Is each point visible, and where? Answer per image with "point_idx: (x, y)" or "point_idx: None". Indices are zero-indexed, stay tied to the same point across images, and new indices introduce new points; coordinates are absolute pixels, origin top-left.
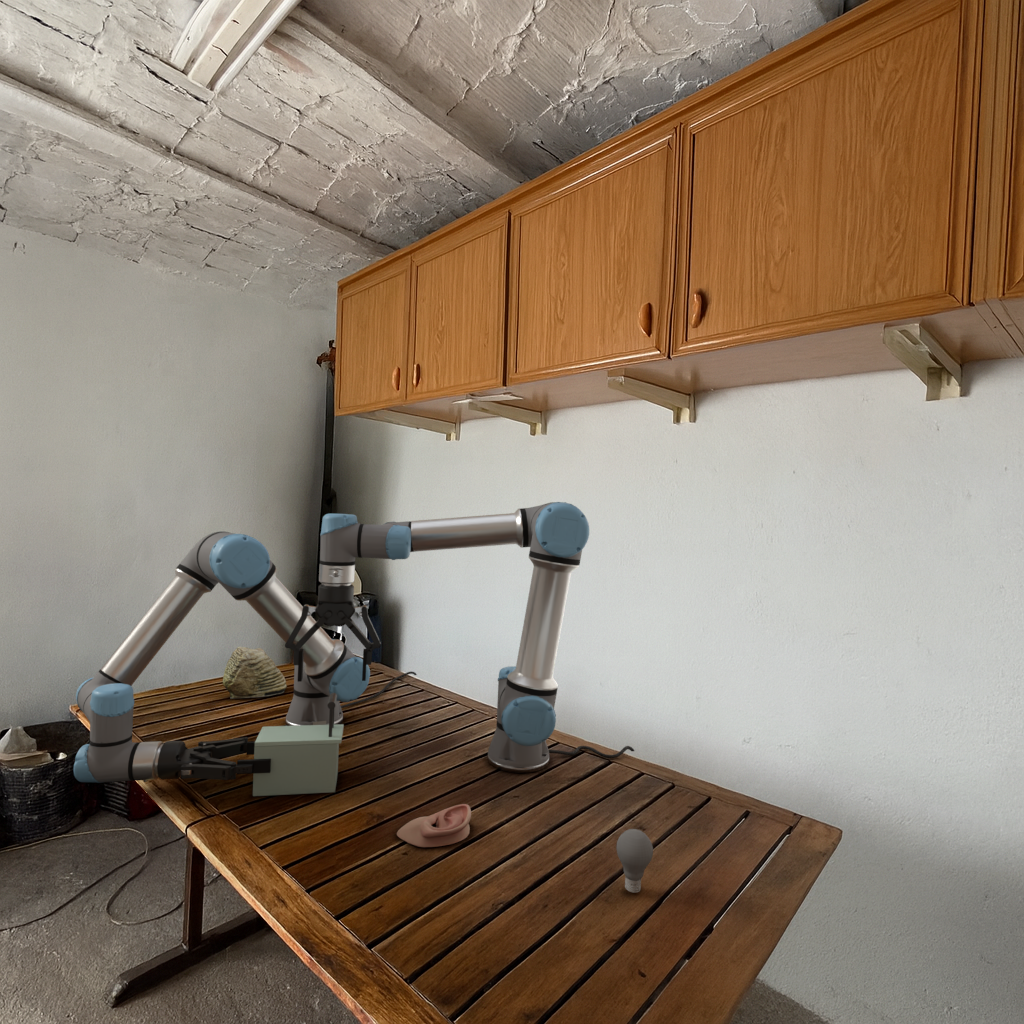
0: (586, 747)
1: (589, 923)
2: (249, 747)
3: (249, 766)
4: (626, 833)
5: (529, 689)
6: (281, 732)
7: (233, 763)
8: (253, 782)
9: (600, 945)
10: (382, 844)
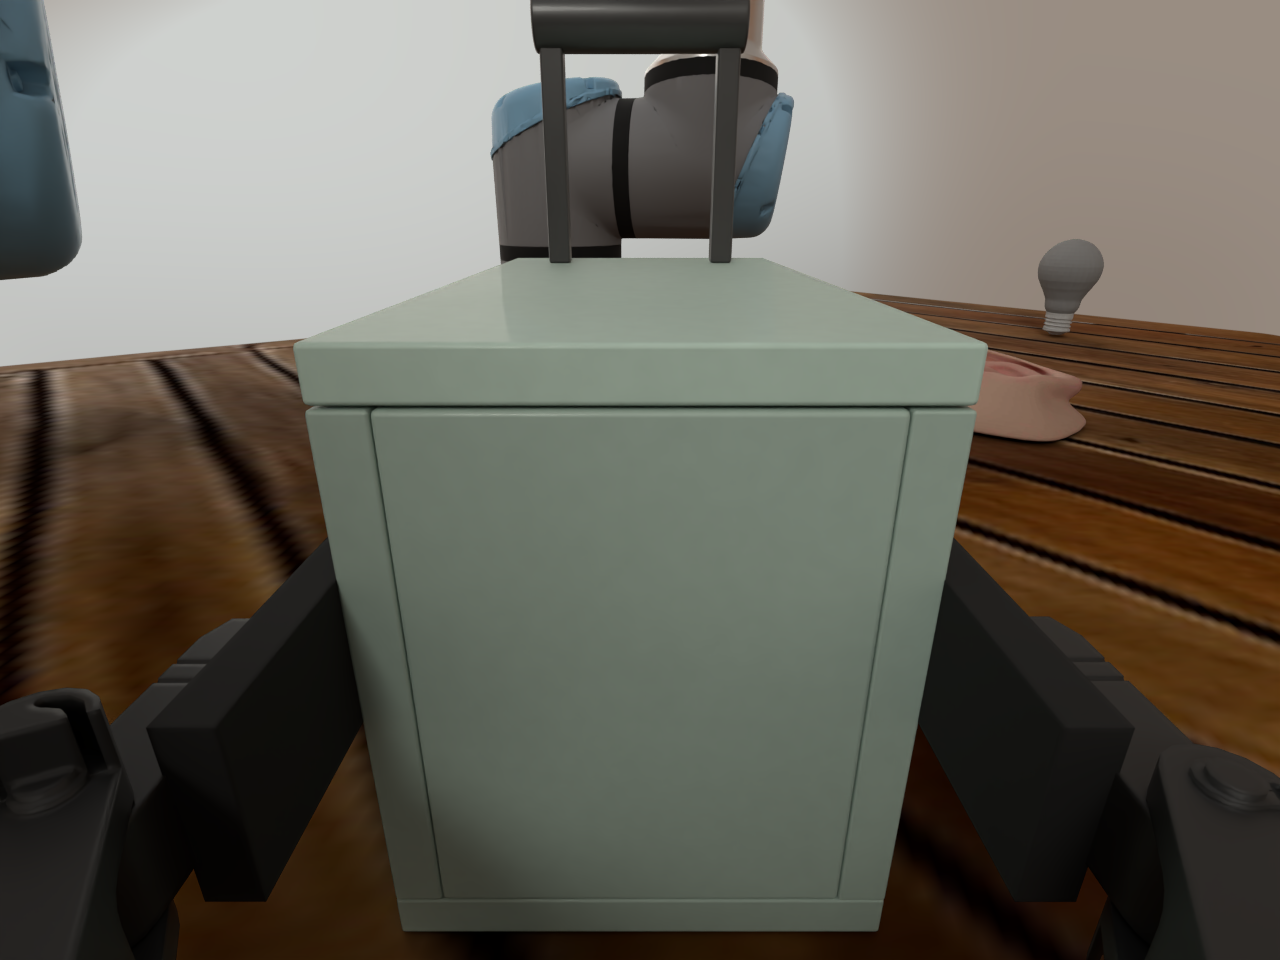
0: None
1: (1177, 353)
2: (263, 763)
3: (1076, 640)
4: (1082, 244)
5: (776, 76)
6: (609, 301)
7: (1253, 771)
8: (898, 817)
9: (1226, 353)
10: (1114, 462)
